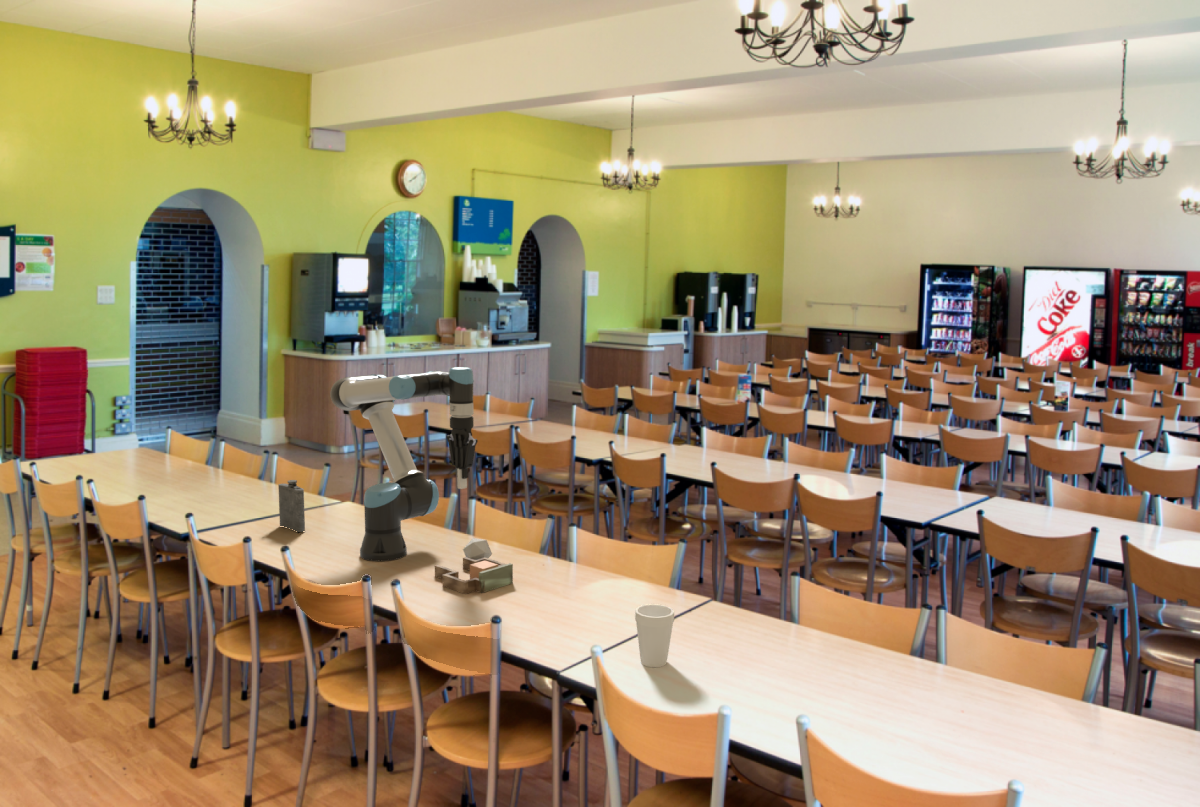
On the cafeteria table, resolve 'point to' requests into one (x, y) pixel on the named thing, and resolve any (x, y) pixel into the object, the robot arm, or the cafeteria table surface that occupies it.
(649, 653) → the foam cup
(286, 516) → the flask
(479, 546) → the die
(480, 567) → the block
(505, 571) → the trap lane
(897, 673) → the cafeteria table surface
